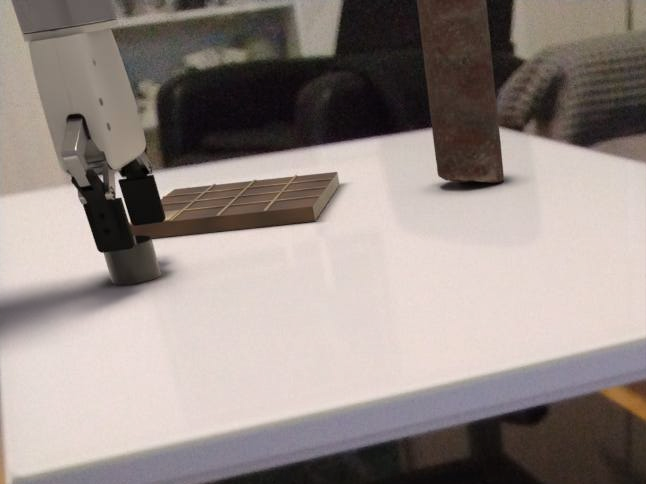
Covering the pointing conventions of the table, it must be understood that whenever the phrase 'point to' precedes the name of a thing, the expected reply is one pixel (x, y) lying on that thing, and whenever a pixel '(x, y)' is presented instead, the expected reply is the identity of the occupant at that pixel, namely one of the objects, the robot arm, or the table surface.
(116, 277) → the short grey cylinder
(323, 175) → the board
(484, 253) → the table surface
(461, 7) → the brown tall block
